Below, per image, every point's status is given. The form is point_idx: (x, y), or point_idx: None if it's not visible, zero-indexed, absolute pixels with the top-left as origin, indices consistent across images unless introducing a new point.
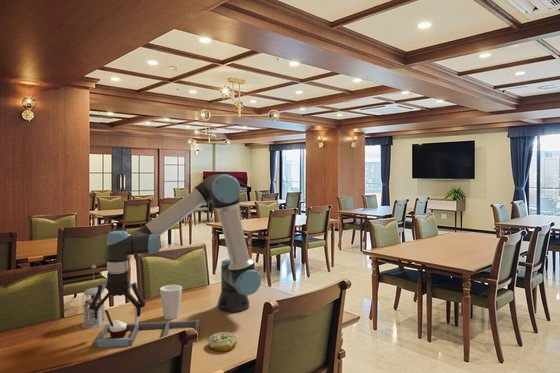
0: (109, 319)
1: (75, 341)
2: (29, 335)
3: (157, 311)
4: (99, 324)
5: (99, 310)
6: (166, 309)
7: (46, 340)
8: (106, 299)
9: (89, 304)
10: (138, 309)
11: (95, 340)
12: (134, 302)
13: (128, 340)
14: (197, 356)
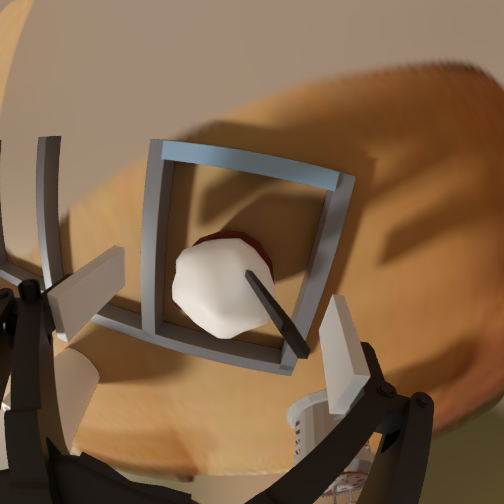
0: (267, 291)
1: (417, 284)
2: (492, 364)
3: (132, 417)
4: (336, 305)
5: (350, 386)
6: (66, 376)
7: (481, 322)
8: (287, 472)
9: (358, 472)
10: (46, 298)
11: (348, 201)
12: (22, 333)
13: (166, 140)
14: (15, 44)
